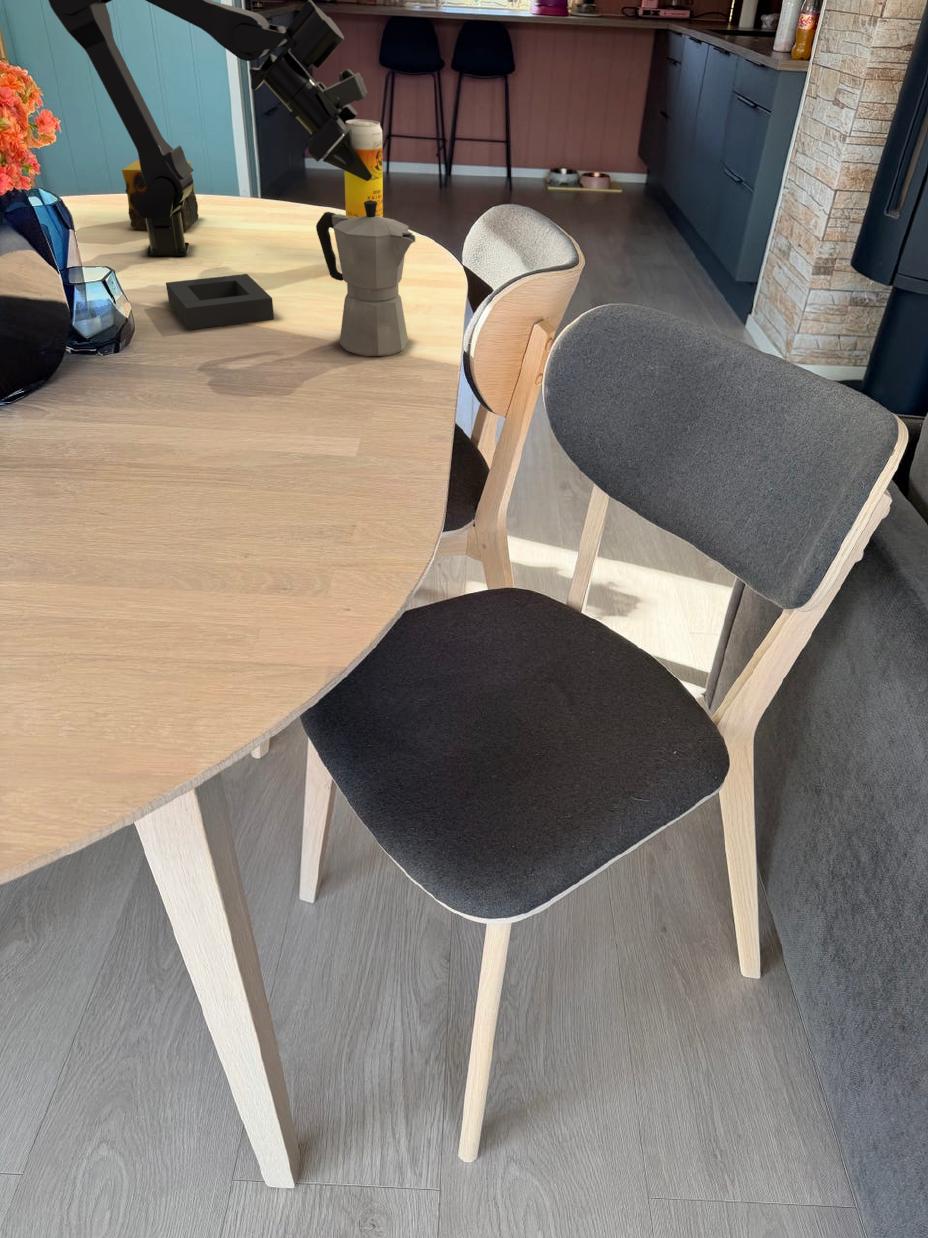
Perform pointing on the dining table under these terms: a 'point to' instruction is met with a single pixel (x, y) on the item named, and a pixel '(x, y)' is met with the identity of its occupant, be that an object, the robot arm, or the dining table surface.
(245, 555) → the dining table surface
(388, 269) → the coffeepot
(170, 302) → the socket pad
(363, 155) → the beer can
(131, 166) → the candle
